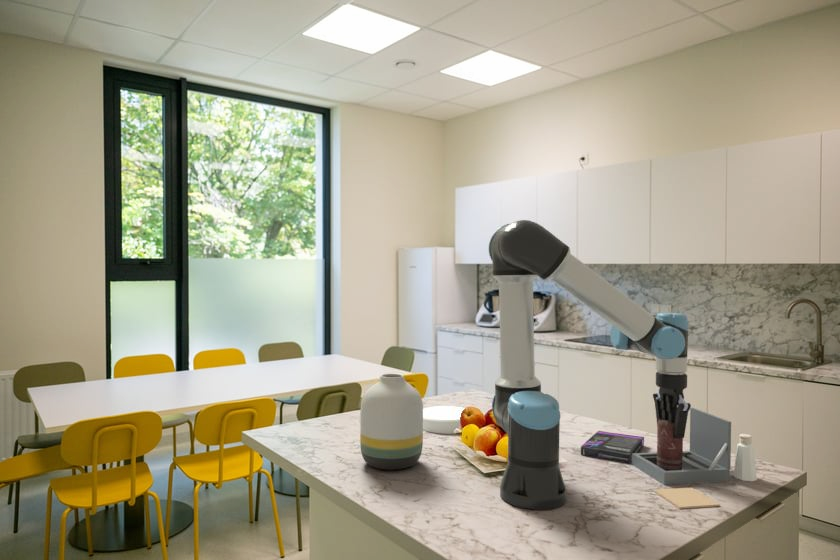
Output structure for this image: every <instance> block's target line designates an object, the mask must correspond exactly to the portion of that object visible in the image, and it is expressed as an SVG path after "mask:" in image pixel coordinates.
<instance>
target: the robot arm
mask: <svg viewBox="0 0 840 560" xmlns="http://www.w3.org/2000/svg"><path fill="white" fill-rule="evenodd" d="M488 254H489V257H490V260H491V262H492V263H491V264H492V277H493V279H494V280H496V281H497V283H498V300H499V301H498V302H499V303H498V305H499V307H498V308H499V347H500V350H499V352H500V353H499V354H500V376H499V377H498V378H497V379H496V380H495V381H494V395H493V398H492V402H491V411H492V415H493V418H494V420H495V422H496V423H497V424H498V425H499V427H501V428H502V430H503V431H504V432H505V433H506V434H507V436H508V437H507V464H506V467H505V470H504V472H503V474H502V475H503V476H502V477H501V481H500V485H499V496H500V498H501V499H502V500H503V501H504V502H506V503H507V504H510V505H512V506H515V507H518V508H521V509H528V510H538V511H539V510H540V511H542V510H553V509H557V508H560V507H562V506H564V505H565V503H566V502H567V487H566V485H565V481H564V477H563V475H562V471H561V468H560V425H561V423H560V420H561V410H560V404H559V403H560V402H558V400H557V399H556V398H555V397H554V396H552V395H550V394H548V393H544V392H542V382H541V380H539V378H538V377H536V376H535V374H536V373H535V370H536V369H535V328H534V327H535V326H534V322H535V321H534V320H535V319H534V282H535V280H536V279H538V277H539V278H540V279H541V280H543V281H549V280H550V281H551V282H553V283H555V285H557V286H558V287H560V288H561V289H562V290H564V291H565V292H567V293H568V294H569V295H571V296H572V297H574V299H576V300H578V301H579V302H580V303H581V304H582V305H583V306H586V307H587V308H588V309H590V310H591V311H592V312H593V313H595V314H597V316H599V317H600V318H602V319H603V320H604V321H606V322H607V323H608V324H610V325H611V327H610V330H609V331H610V332H609V333H610V334H609V335H610V336H609V337H610V342H611V345H612V346H613V347H614V349H616V350H625V351H631V350H632V351H636V352H640V353H643V354H647V355H651V356H653V357H655V370H656V373H655V386H657V387H658V388H659V389H658V392H656V393H653V394H652V398H653V401H654V405H655V406H654V408H655V415H656V416H655V419H656V426H658V421H659V418H662V420H664V419H665V420H664V421H666V420H669V423H675V424H674V431H673V438H683V439H684V438H685V434H686V428H687V423H688V422H687V421H688V415H689V412H690V408H692V407H691V406H692V405H691V403H690V402H686V400H685V395H684V390H685V389H687V388H688V374H687V372H688V354H689V353H688V352H689V351H688V350H689V349H688V345H689V332H690V331H689V322H688V321H689V320H688V316H687V315H686V314H684V313H682V312H681V313H679V312H678V313H677V312H659V313H657V315H656V317H655V316H654V315H653V314H652V313H650V312H649V311H647V310H646V309H645V308H643V307H642V306H640V305H639V304H637V302H635V301H634V300H632V298H630V297H629V296H627V295H626V294H625V293H623V292H622V291H620V289H618V288H617V287H615V286H614V285H613V284H611V283H610V282H608V280H606V279H605V278H604V277H602V276H601V275H600V274H599V273H597V272H596V271H594V270H593V269H591V268H590V267H589V266H588V265H586V264H585V263H583V262H582V261H581V260H580V259H578V258H577V257H576V256H575V255H573V254H572V253H571V248H570V246H568V245H567V244H566V243H564V242H563V241H562V240H560V238H558V237H557V236H556V235H555V234H553V233H552V232H550V230H548V229H546V228H545V227H544V226H543V225H541V224H539V223H537V222H535V221H532V220H528V219H520V220H516V221H514V222H512V223H507V224H504V225H502V226H501V227H499V228H497V229H496V230H495V232H494V233H493V234H492V236H490V239H489V243H488Z"/></svg>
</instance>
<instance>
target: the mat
mask: <svg viewBox="0 0 840 560" xmlns="http://www.w3.org/2000/svg"><path fill="white" fill-rule="evenodd" d="M653 492H654V493H655V494H657V495H659V497H661V498H663V499H664V500H665V501H667V502H669V503H670V504H672V505H673V506H675V507H677V508H678V509H679V510H680V509H682V510H684V509H697V508H698V509H700V508H709V507H712V508H715V507H721V504H720V503H718V502H717V501H715V500H714V499H712V498H710V497H709V496H707V495H705V494H704V493H702V492H700V491H698V490H697V489H695V488H693V487H679V488H677V487H675V488H662V489H660V488H659V489H653Z"/></svg>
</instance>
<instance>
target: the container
mask: <svg viewBox="0 0 840 560" xmlns="http://www.w3.org/2000/svg"><path fill="white" fill-rule="evenodd" d="M464 409H465V407H460V406H450V405H447V406H446V405H440V406H439V405H438V406H431V407H429V406H428V407H425V408H423V431H426V432H429V433H437V434H449V435H450V434H455V433H454V430H455V429H456V428H458V427H459V425H460V417H461V413H462V411H463V410H464Z"/></svg>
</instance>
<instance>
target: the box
mask: <svg viewBox="0 0 840 560" xmlns="http://www.w3.org/2000/svg"><path fill="white" fill-rule="evenodd" d="M644 447H645V436H638V435H631V434H623V433H616V432H609V431H603V430H598V431H596V432H595V433H594V434H593V435H592V436H591V437H589V439H588V440H586V441H585V442H584V443H583V444H582V445H581V446H580V456H585V457H591V458H595V459H596V458H597V459H601V460H608V461H613V462H617V463H618V462H619V463H625V464H629V465H630V464H632V453H641V451H640V450H642V449H643V448H644Z"/></svg>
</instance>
